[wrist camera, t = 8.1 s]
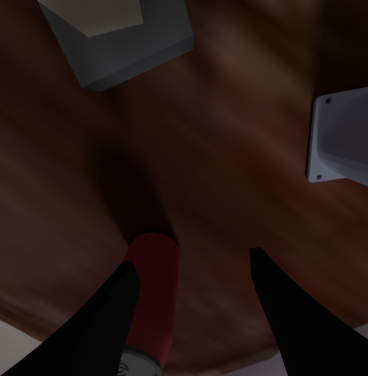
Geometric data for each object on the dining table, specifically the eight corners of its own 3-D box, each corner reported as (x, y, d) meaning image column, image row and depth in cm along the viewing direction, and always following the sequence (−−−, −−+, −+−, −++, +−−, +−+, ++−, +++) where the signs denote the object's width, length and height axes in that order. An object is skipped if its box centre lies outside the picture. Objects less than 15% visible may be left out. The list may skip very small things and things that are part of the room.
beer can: (120, 243, 23) (54, 362, 12) (160, 220, 21) (126, 335, 10) (151, 274, 25) (117, 401, 14) (190, 256, 23) (187, 384, 12)
